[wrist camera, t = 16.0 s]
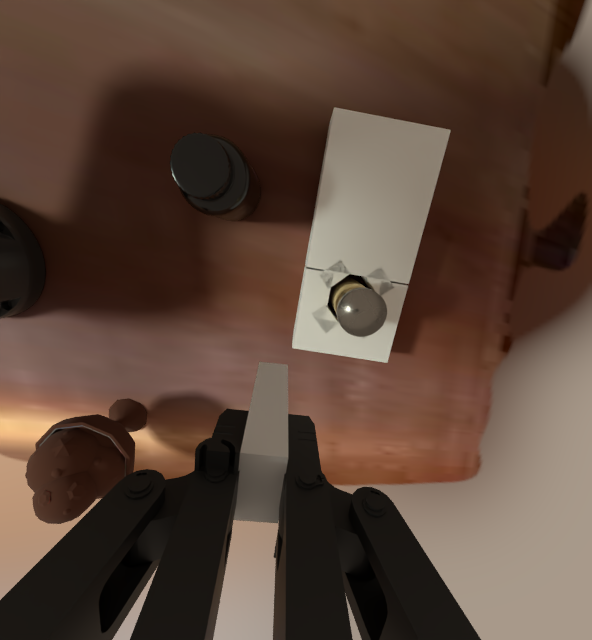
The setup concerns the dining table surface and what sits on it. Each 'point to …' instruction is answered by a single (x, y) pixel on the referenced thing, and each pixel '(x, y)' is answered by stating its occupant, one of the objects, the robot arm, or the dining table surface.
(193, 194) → the supplement bottle
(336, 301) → the gold grey cylinder
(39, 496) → the ice cream bowl
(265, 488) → the robot arm
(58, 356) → the dining table surface
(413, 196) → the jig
